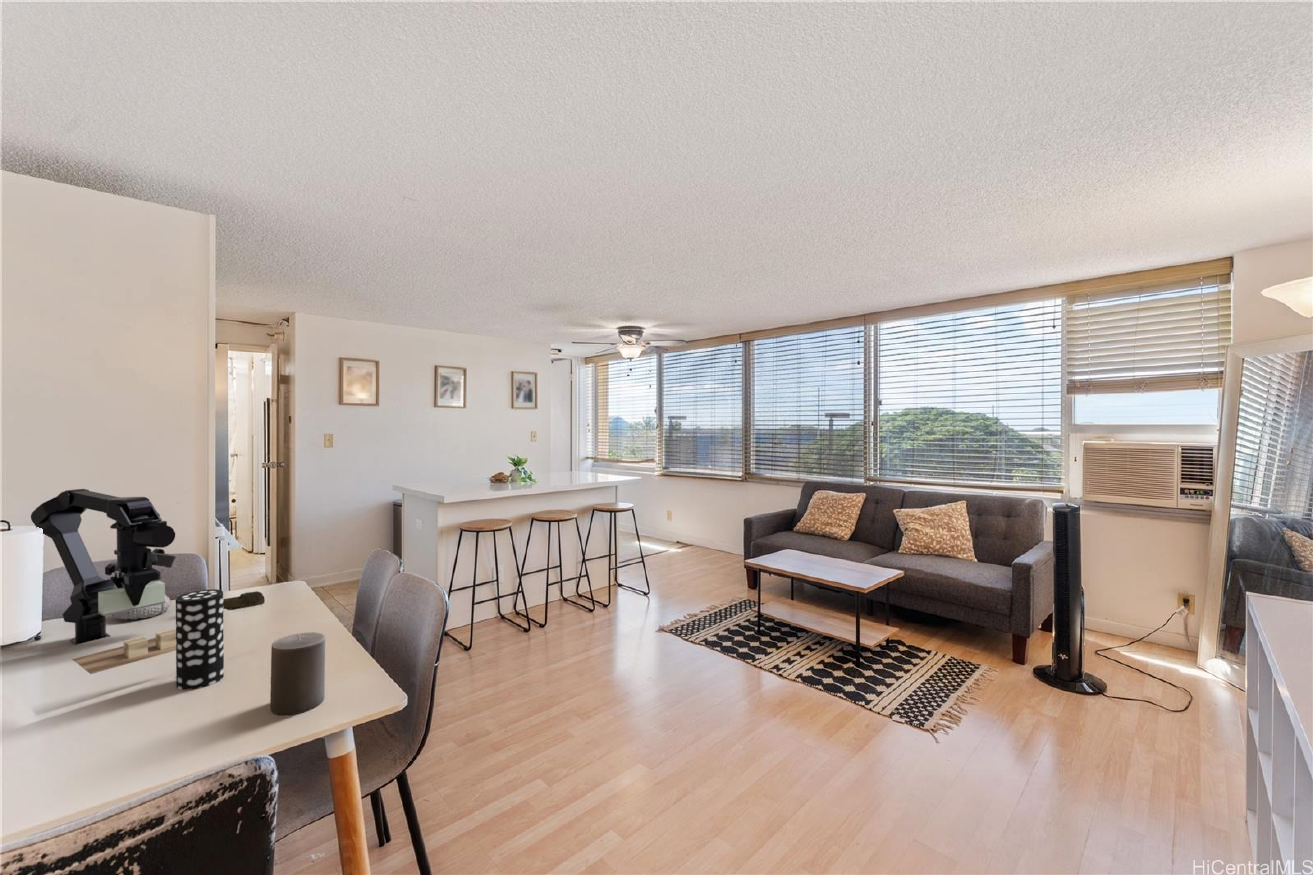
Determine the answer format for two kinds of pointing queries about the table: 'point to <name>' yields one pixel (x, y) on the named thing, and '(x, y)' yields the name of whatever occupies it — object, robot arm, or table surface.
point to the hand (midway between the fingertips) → (132, 604)
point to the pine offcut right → (166, 639)
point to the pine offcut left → (135, 647)
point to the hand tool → (244, 600)
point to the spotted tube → (199, 639)
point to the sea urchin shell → (145, 611)
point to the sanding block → (120, 602)
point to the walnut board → (117, 657)
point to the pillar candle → (297, 673)
